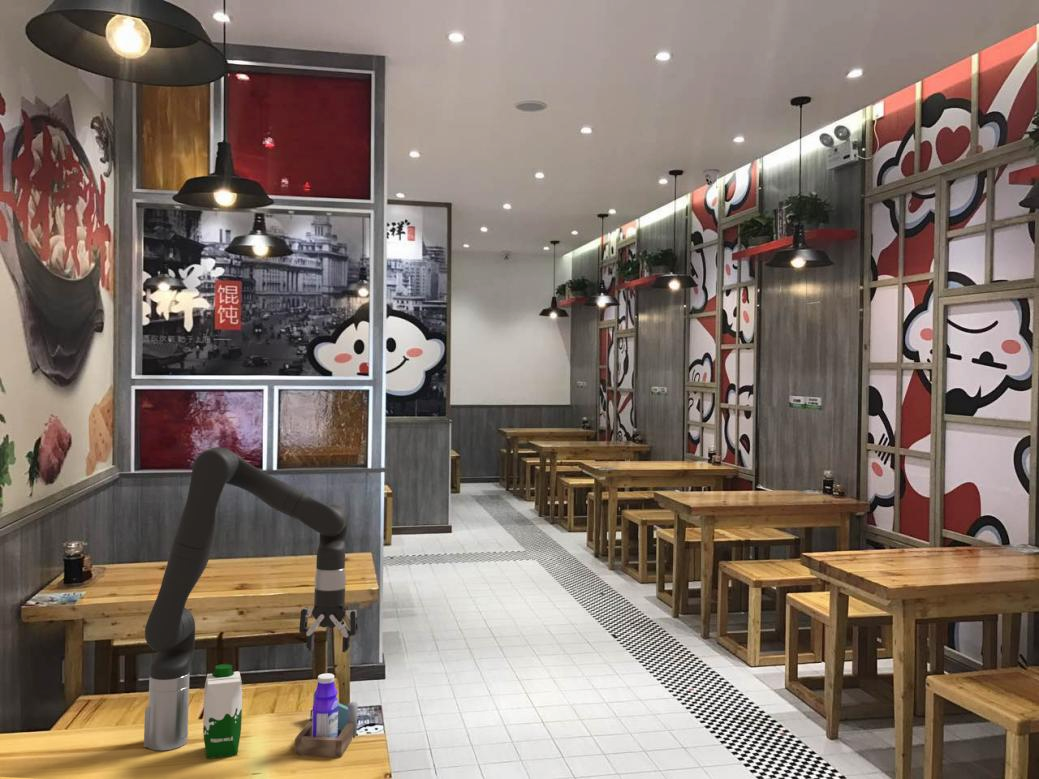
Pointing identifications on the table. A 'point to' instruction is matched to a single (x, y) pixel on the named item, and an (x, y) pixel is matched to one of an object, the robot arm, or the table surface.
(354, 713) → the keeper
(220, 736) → the milk carton
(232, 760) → the table surface
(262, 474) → the robot arm
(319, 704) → the bottle
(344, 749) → the brown wooden tray
